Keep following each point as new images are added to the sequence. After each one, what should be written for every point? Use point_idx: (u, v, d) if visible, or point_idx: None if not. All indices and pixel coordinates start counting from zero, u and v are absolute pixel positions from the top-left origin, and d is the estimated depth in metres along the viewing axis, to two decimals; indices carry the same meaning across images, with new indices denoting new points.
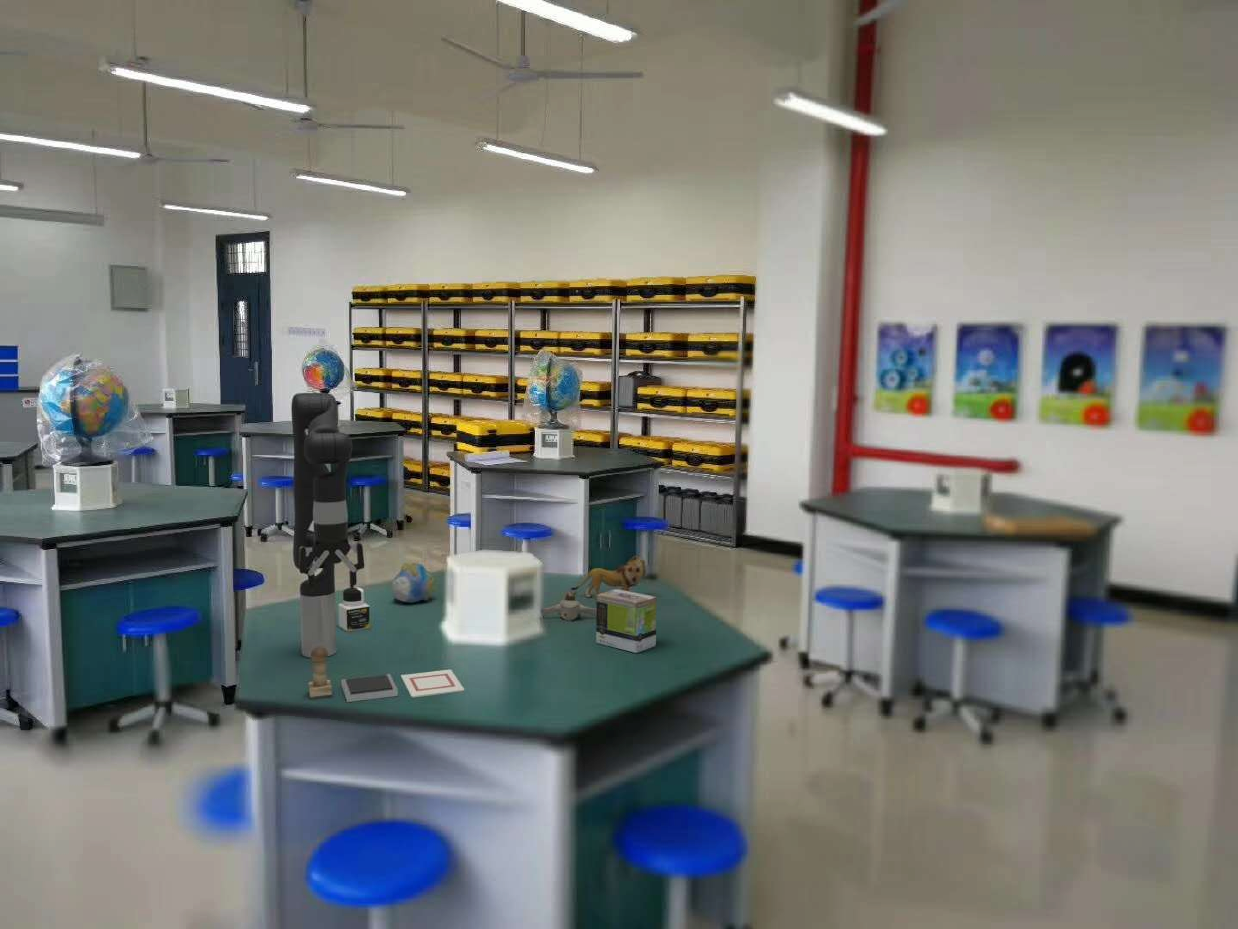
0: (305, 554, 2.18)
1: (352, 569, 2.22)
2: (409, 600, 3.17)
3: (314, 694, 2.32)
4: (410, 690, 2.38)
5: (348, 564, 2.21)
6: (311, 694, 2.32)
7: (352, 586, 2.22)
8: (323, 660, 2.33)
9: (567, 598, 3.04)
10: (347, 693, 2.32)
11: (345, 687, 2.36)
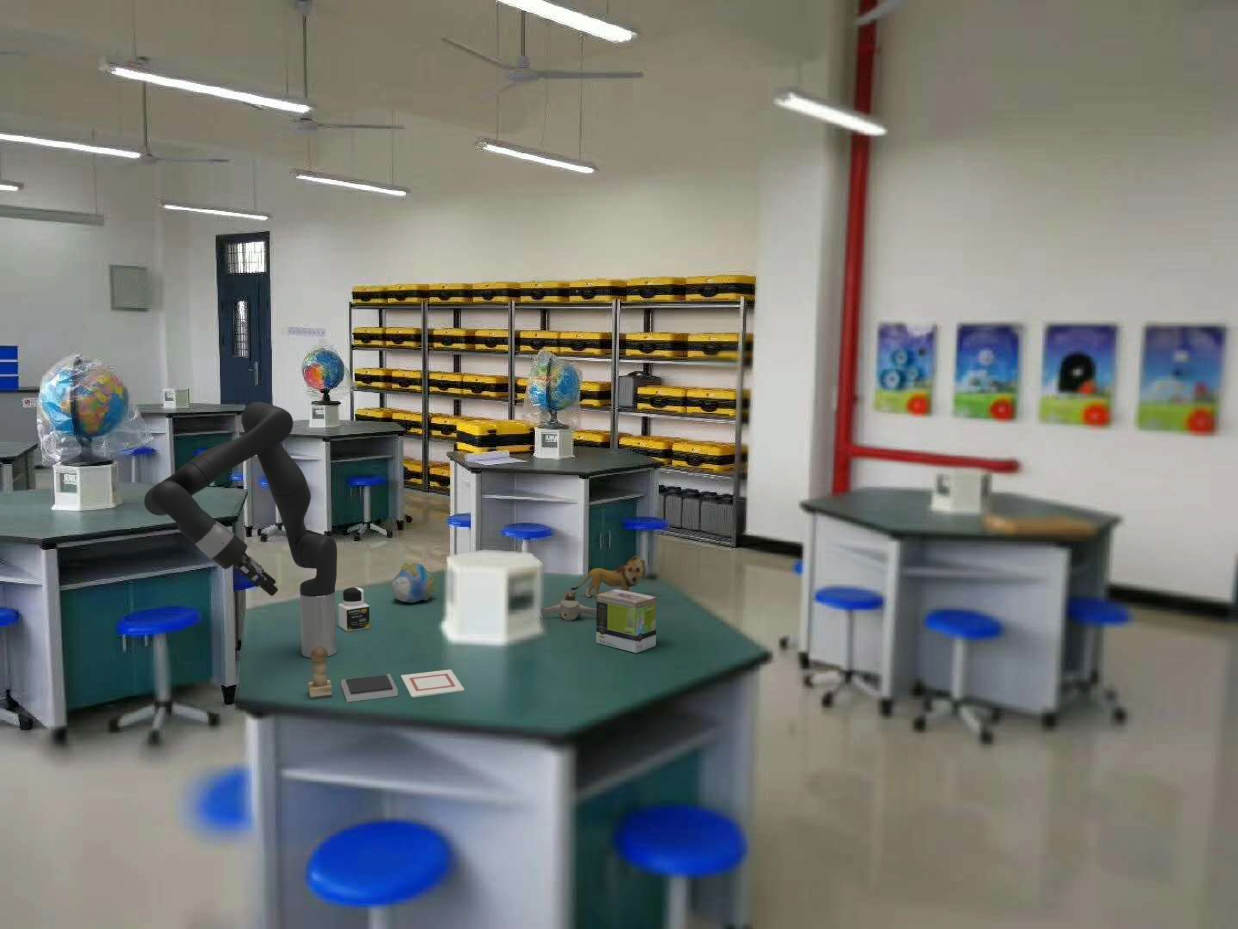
0: None
1: None
2: (409, 600, 3.17)
3: (314, 694, 2.32)
4: (410, 690, 2.38)
5: None
6: (311, 694, 2.32)
7: None
8: (323, 660, 2.33)
9: (567, 598, 3.03)
10: (347, 693, 2.32)
11: (345, 687, 2.36)
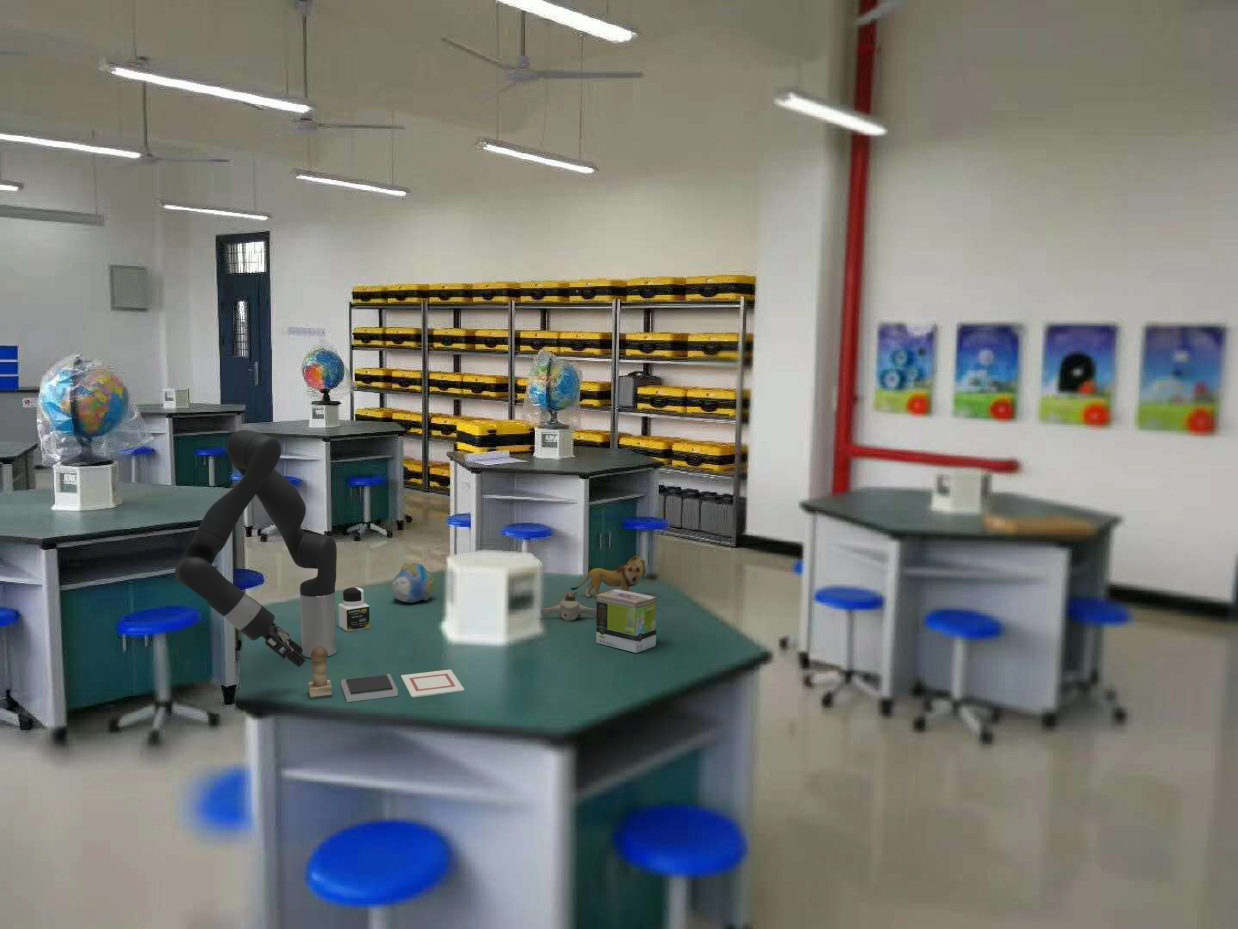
0: None
1: None
2: (409, 600, 3.17)
3: (314, 694, 2.32)
4: (410, 690, 2.38)
5: None
6: (311, 694, 2.32)
7: None
8: (323, 660, 2.33)
9: (567, 598, 3.03)
10: (347, 693, 2.32)
11: (345, 687, 2.36)
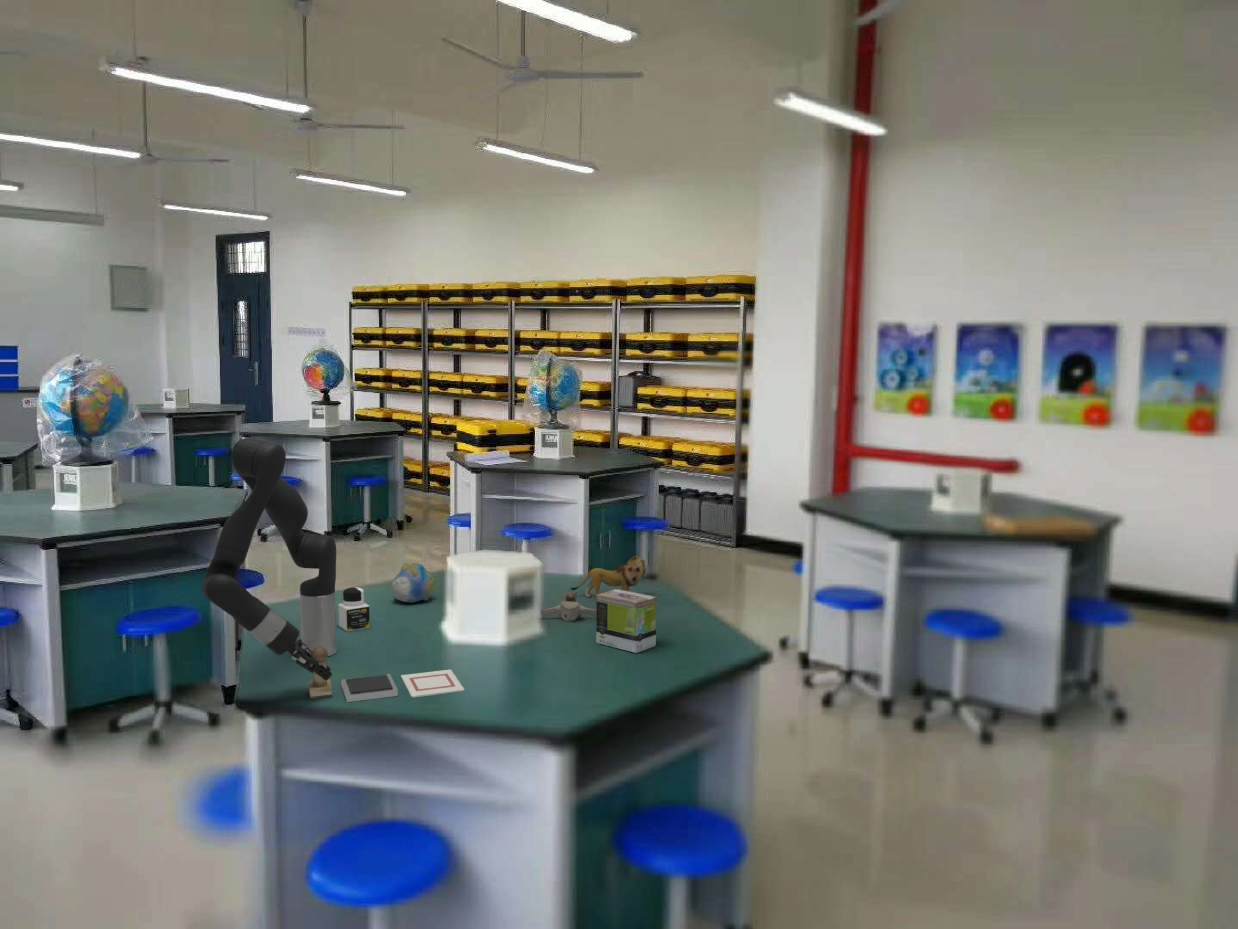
0: None
1: None
2: (409, 600, 3.17)
3: (314, 694, 2.32)
4: (410, 690, 2.38)
5: None
6: (311, 694, 2.32)
7: None
8: (323, 660, 2.33)
9: (567, 599, 3.03)
10: (347, 693, 2.32)
11: (345, 687, 2.36)
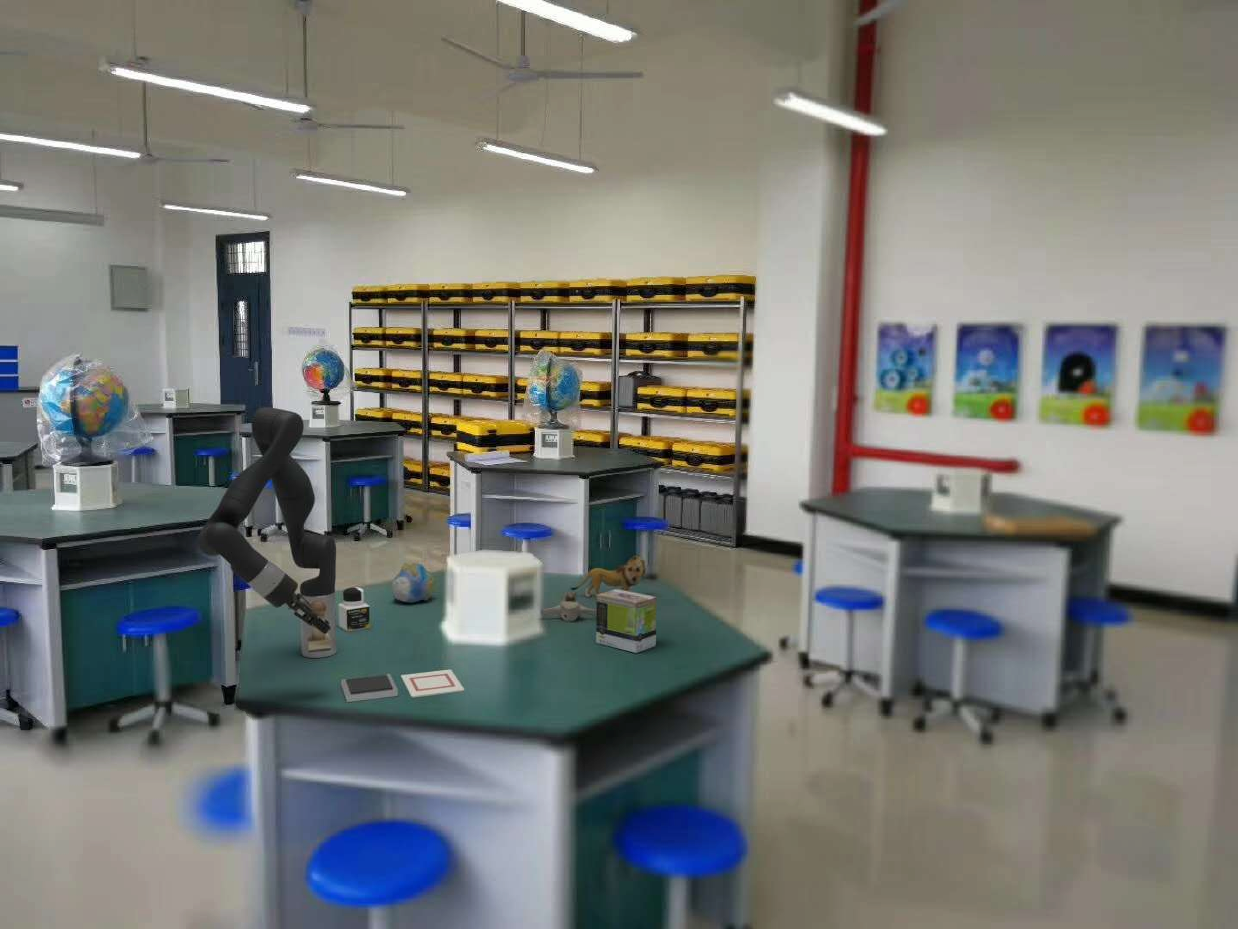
0: None
1: None
2: (409, 600, 3.17)
3: (312, 647, 2.31)
4: (410, 690, 2.38)
5: None
6: (309, 647, 2.31)
7: None
8: (321, 613, 2.32)
9: (567, 599, 3.03)
10: (347, 693, 2.32)
11: (345, 687, 2.36)
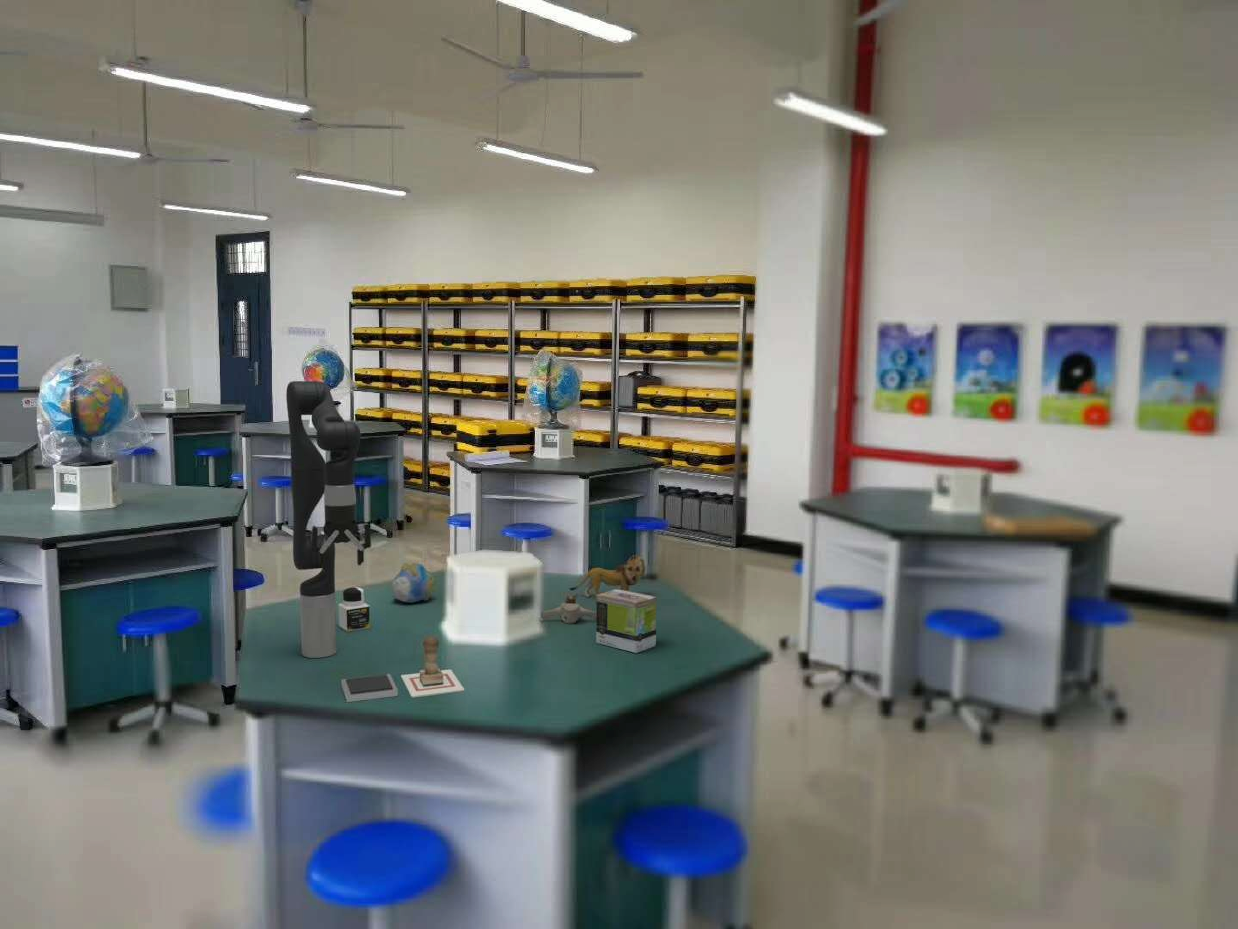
0: (317, 533, 2.36)
1: (360, 548, 2.41)
2: (409, 600, 3.17)
3: (427, 682, 2.40)
4: (410, 690, 2.38)
5: (356, 543, 2.40)
6: (424, 682, 2.40)
7: (360, 563, 2.41)
8: (435, 649, 2.41)
9: (568, 601, 3.00)
10: (347, 693, 2.32)
11: (345, 687, 2.36)
